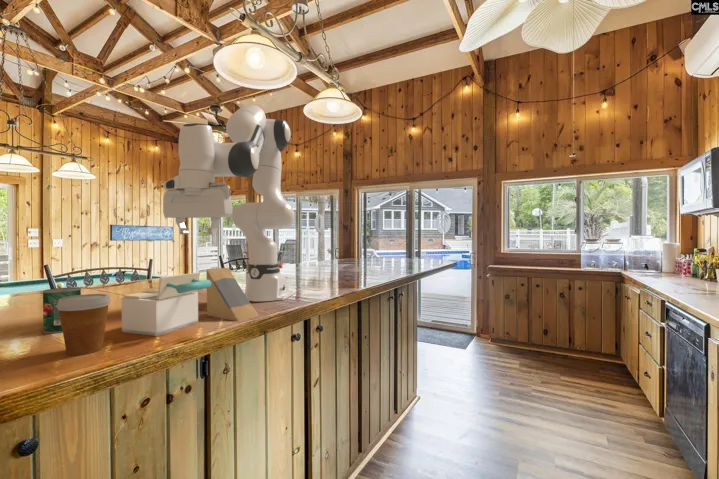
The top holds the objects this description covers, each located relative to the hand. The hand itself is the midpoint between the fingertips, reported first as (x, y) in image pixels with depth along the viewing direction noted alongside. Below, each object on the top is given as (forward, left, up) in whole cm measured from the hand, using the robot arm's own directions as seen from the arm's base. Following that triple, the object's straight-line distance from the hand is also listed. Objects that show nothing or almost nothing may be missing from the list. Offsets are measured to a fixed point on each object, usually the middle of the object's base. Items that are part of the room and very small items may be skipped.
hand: (197, 234), depth 92 cm
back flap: (+1, -15, -17) cm, 23 cm away
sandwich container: (-17, -2, -26) cm, 31 cm away
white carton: (+1, -12, -26) cm, 28 cm away
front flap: (+1, -6, -14) cm, 15 cm away
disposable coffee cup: (+21, -12, -26) cm, 36 cm away
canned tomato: (+11, -36, -26) cm, 46 cm away
